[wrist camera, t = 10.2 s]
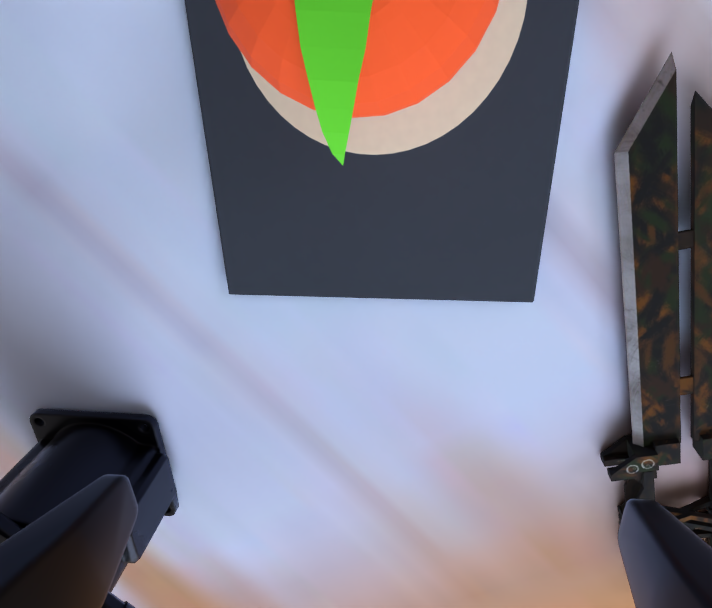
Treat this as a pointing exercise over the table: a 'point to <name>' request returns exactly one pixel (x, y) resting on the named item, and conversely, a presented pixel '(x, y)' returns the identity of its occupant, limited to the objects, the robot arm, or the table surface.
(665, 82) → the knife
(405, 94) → the clementine
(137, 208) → the table surface
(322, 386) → the table surface
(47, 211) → the table surface
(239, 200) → the placemat
